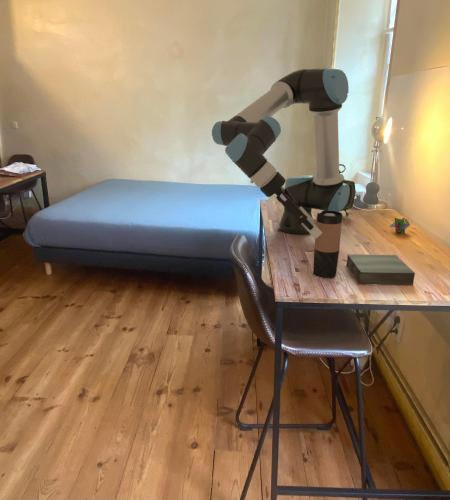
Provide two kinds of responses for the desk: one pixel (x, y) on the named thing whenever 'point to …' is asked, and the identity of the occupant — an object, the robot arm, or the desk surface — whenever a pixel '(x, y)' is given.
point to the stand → (380, 269)
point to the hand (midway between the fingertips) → (314, 229)
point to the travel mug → (327, 244)
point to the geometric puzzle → (400, 225)
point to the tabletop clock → (351, 193)
